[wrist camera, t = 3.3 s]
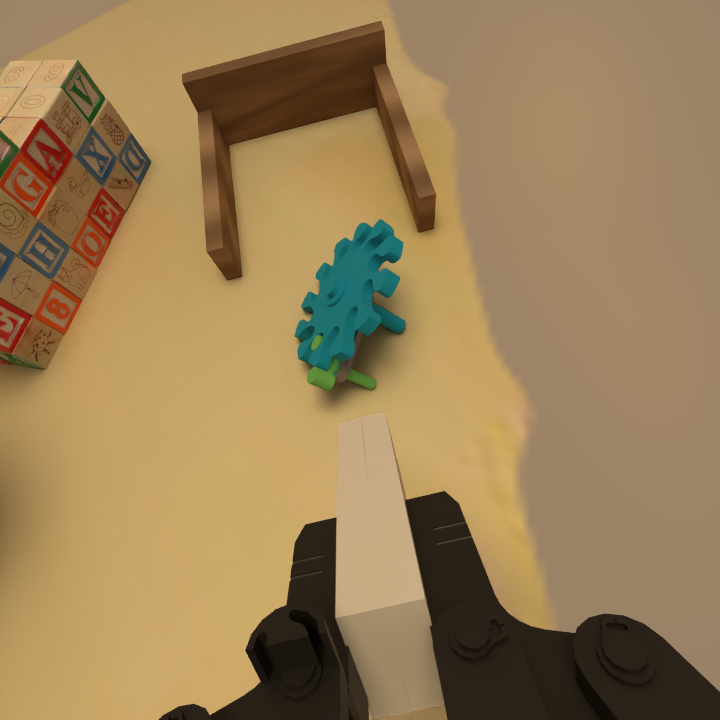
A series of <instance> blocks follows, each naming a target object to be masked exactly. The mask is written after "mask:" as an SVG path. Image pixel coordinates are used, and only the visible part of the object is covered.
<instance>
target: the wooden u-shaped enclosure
mask: <svg viewBox="0 0 720 720" xmlns="http://www.w3.org/2000/svg"><path fill="white" fill-rule="evenodd" d="M182 82H183V85H184V87H185V89H186V91H187V93H188V95H189V97H190V99H191V101H192V103H193V105H194V106H195V108H196V110H197V112H198V125H199V141H200V156H201V172H202V187H203V203H204V219H205V234H206V250H207V253H208V254H209V256H210V257H211V258H212V260H213V261H214V262H215V264H216V265H217V267H218V268H219V269H220V271H221V272H222V273H223V275H224V276H225V277H226V279H227V280H230V279H234V278H238V277H242V269H241V260H240V250H239V241H238V231H237V222H236V212H235V203H234V193H233V184H232V174H231V165H230V155H229V146H228V145H229V144H233V143H237V142H241V141H245V140H248V139H252V138H256V137H260V136H264V135H268V134H271V133H275V132H279V131H283V130H287V129H291V128H294V127H298V126H302V125H306V124H310V123H314V122H317V121H321V120H325V119H329V118H333V117H337V116H341V115H344V114H348V113H352V112H356V111H360V110H364V109H367V108H371V107H375V106H376V107H377V110H378V113H379V116H380V119H381V122H382V125H383V128H384V131H385V134H386V137H387V140H388V143H389V146H390V149H391V152H392V155H393V158H394V161H395V164H396V167H397V170H398V173H399V176H400V178H401V181H402V184H403V187H404V190H405V193H406V196H407V199H408V202H409V205H410V208H411V211H412V214H413V217H414V220H415V223H416V226H417V229H418V232H422V231H426V230H430V229H434V219H435V201H436V193H435V190H434V188H433V185H432V182H431V180H430V177H429V174H428V172H427V169H426V166H425V164H424V161H423V158H422V156H421V153H420V151H419V148H418V145H417V143H416V140H415V137H414V135H413V132H412V129H411V127H410V124H409V121H408V119H407V116H406V113H405V111H404V108H403V105H402V103H401V100H400V98H399V95H398V92H397V90H396V87H395V84H394V82H393V79H392V76H391V74H390V71H389V68H388V66H387V63H386V48H385V33H384V27H383V25H382V22H381V21H378V22H375V23H371V24H367V25H364V26H360V27H356V28H352V29H349V30H345V31H341V32H337V33H334V34H330V35H326V36H322V37H319V38H315V39H311V40H307V41H304V42H300V43H296V44H292V45H289V46H285V47H281V48H278V49H274V50H270V51H266V52H263V53H259V54H255V55H251V56H248V57H244V58H240V59H236V60H233V61H229V62H225V63H221V64H218V65H214V66H210V67H206V68H203V69H199V70H195V71H192V72H188V73H184V74H182Z"/></svg>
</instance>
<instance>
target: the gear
mask: <svg viewBox="0 0 720 720" xmlns="http://www.w3.org/2000/svg"><path fill="white" fill-rule="evenodd" d="M402 250H403V242H402V241H400V240H399V239H397V238H396V237H395V236H394V230H393V228H392V227H391V226H390V225H388V224H387V223H385V222H384V221H383V220H381V219H380V220H379V221H378V222H377V223H376V224H375V225H374V227H373V228H372V227H371V226H369V225H368V224H367V223H361V224H359V225H358V227H357V229H356V231H355V234H354V238H353V241H350V240H349V239H347V238H343V239H342V240H341V241H340V242H338V243H337V244H336V247H335V250H334V253H335V258H334V263H333V266H330V265H329V264H327V263H324V264H323V265H322V266H321V267H320V269H319V270H318V271H317V273H316V279H318V280H319V282H320V291H319V294H318V296H317V295H316V294H314V293H312V292H308V294H307V295H306V297H305V299H304V301H303V303H302V306H301V307H302V308H303V309H305V310H307V311H309V312H311V313H313V316H312V318H311V320H310V321H309V322H307V321H305V320H301V321H300V322H299V323H298V326H297V329H296V333H295V337H297V338H299V339H301V340H303V342H302V343H301V344H300V345H299V347H298V358H299V359H300V360H302V361H304V362H307V363H309V364H311V365H312V366H315V367H313V368H312V369H311V370H310V372H309V374H308V377H307V382H308V383H310V384H312V385H314V386H317V387H319V388H322V389H324V390H327V391H329V390H330V389H331V388H332V387H333V385H334V383H335V382H336V383H338V384H340V383H343V382H344V381H345V380H346V379H347V380H349V381H352V382H354V383H356V384H359V385H361V386H363V387H365V388H368V389H370V390H371V389H373V388H374V386H375V384H376V381H375V379H373V378H370V377H368V376H366V375H364V374H362V373H360V372H357V371H355V370H353V369H351V368H352V365H353V362H354V359H355V356H356V353H357V350H358V347H359V344H360V341H361V338H362V335H363V334H365V335H367V336H369V335H370V334H371V333H372V332H373V331H374V330H375V329H376V328H377V327H378V325H379V324H381V325H383V326H385V327H387V328H388V329H390V330H392V331H394V332H396V333H400V332H402V331H403V329H404V327H405V320H403V319H401V318H400V317H398V316H396V315H394V314H393V313H391V312H389V311H387V310H386V309H384V308H382V307H381V306H379V305H377V304H375V303H374V299H373V296H372V295H373V293H374V291H376V292H378V293H380V294H381V295H383V296H385V297H387V298H389V297H391V296H392V294H393V293H394V291H395V289H396V287H397V285H398V283H399V280H400V277H399V276H397V275H396V274H394V273H393V272H391V271H390V270H388V269H383V270H381V271H379V272H378V270H379V268H380V266H381V265H382V263H383V262H385V261H389V262H390V263H395V262H397V261H398V260H399V259H400V257H401V255H402Z"/></svg>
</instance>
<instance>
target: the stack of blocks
mask: <svg viewBox="0 0 720 720" xmlns="http://www.w3.org/2000/svg"><path fill="white" fill-rule="evenodd" d="M150 162H151V161H150V159H149V158H148V156H147V155H146V153H145V152H144V151H143V149H142V147H141V146H140V145H139V143H138V142H137V140H136V139H135V137H134V136H133V135H132V134H131V133H130V130H129V129H128V127H127V126H126V124H125V123H124V121H123V120H122V119H121V117H120V116H119V114H118V113H117V112H116V110H115V109H114V107H113V106H112V105H111V103H110V102H109V101H108V100H107V99H105V97H104V95H103V94H102V93H101V91H100V90H99V88H98V87H97V86H96V84H95V83H94V82H93V80H92V79H91V77H90V76H89V74H88V73H87V72H86V70H85V69H84V68H83V66H82V65H81V64H80V62H79V61H78V60H44V61H11V62H10V63H9V64H8V66H7V67H6V69H5V70H4V71H3V73H2V74H1V76H0V363H5V364H15V365H21V366H27V367H33V368H39V369H44V370H46V369H47V367H48V365H49V363H50V361H51V359H52V357H53V355H54V353H55V351H56V349H57V348H58V346H59V344H60V342H61V340H62V338H63V336H64V334H65V333H66V332H67V330H68V328H69V326H70V324H71V322H72V320H73V318H74V316H75V314H76V312H77V310H78V308H79V306H80V304H81V302H82V300H83V298H84V296H85V295H86V293H87V291H88V289H89V287H90V285H91V283H92V281H93V279H94V277H95V275H96V273H97V268H98V266H99V265H100V262H101V260H102V258H103V256H104V254H105V252H106V250H107V248H108V246H109V244H110V242H111V239H112V237H113V235H114V233H115V231H116V229H117V227H118V225H119V223H120V221H121V219H122V217H123V215H124V212H125V211H126V210H127V208H128V206H129V204H130V202H131V200H132V198H133V196H134V194H135V192H136V190H137V188H138V186H139V184H140V183H141V181H142V179H143V177H144V175H145V173H146V170H147V168H148V166H149V164H150Z"/></svg>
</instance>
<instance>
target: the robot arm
mask: <svg viewBox="0 0 720 720" xmlns="http://www.w3.org/2000/svg"><path fill="white" fill-rule="evenodd" d="M290 577H291V581H290V583H289V591H288V598H287V605H286V606H283V607H281V608H278V609H276V610H274V611H273V612H272V613H271V614H269V615H268V616H267V617H265V618H264V619H263V620H262V621H261V622H260V624H259V625H258V626H257V628H256V629H255V630H254V632H253V633H252V634H251V637H250V639H249V642H248V645H247V647H246V650H245V651H246V653H247V655H248V657H249V659H250V661H251V663H252V665H253V667H254V669H255V671H256V673H257V675H258V677H259V679H260V681H261V682H260V683H259V684H258V685H257V686H256V687H255V688H254V689H252V690H251V691H249V692H248V693H247V694H245V695H244V696H242V697H240V698H239V699H237V700H235V701H234V702H232V703H230V704H228V705H227V706H225V707H223V708H222V709H220V710H218V711H216V712H215V713H213V714H211V715H209V713H208V712H207V710H206V709H205V708H203V707H200V706H198V705H195V704H190V705H184V706H179V707H177V708H175V709H173V710H172V711H170V712H168V713H166V714H165V715H163V716H162V717H161V718H160V719H159V720H369V712H368V707H369V710H370V712H371V715H372V718H373V720H376V719H381V718H386V717H390V716H395V715H400V714H405V713H410V712H414V711H419V710H424V709H429V708H434V707H439V706H443V705H445V708H446V713H447V718H448V720H720V692H719V691H718V690H717V689H716V688H715V687H714V686H713V685H712V684H711V683H710V682H709V681H708V680H707V679H706V678H704V677H703V676H702V675H701V674H700V673H699V672H698V671H697V670H696V669H695V668H694V667H693V666H692V665H691V664H690V663H689V662H687V661H686V659H684V658H683V657H682V656H681V655H680V654H679V653H678V652H677V651H676V650H675V649H674V648H673V647H672V646H671V645H670V644H669V643H668V642H667V641H666V640H665V639H663V638H662V637H661V636H660V635H659V634H657V633H656V632H654V631H653V630H652V629H650V628H649V627H648V626H646V625H645V624H643V623H641V622H638V621H636V620H633V619H631V618H628V617H626V616H623V615H613V614H601V615H597V616H593V617H590V618H588V619H587V620H585V621H584V622H583V623H582V624H581V625H580V626H579V627H577V630H576V633H569V632H561V631H552V630H545V629H540V628H536V627H532V626H529V625H527V624H525V623H523V622H520V621H519V620H517V619H516V618H514V617H513V616H512V615H510V614H509V613H508V612H507V611H506V610H505V609H504V608H503V607H502V606H501V605H500V603H499V601H498V599H497V598H496V596H495V594H494V591H493V589H492V586H491V584H490V581H489V579H488V576H487V574H486V571H485V569H484V566H483V563H482V561H481V558H480V556H479V553H478V551H477V548H476V546H475V543H474V541H473V538H472V536H471V533H470V531H469V528H468V526H467V524H466V521H465V518H464V516H463V513H462V511H461V508H460V506H459V503H458V502H456V501H455V500H454V499H453V498H452V497H451V496H450V495H448V494H447V493H446V492H445V491H443V492H439V493H434V494H430V495H426V496H421V497H417V498H413V499H408V500H407V499H406V495H405V490H404V486H403V481H402V477H401V473H400V469H399V465H398V461H397V457H396V454H395V450H394V446H393V442H392V438H391V434H390V430H389V426H388V422H387V418H386V414H385V411H383V412H379V413H375V414H370V415H366V416H362V417H358V418H354V419H350V420H345V421H341V422H338V451H337V517H336V518H332V519H327V520H323V521H319V522H314V523H310V524H306V525H305V526H304V528H303V529H302V531H301V533H300V535H299V536H298V538H297V540H296V542H295V546H294V554H293V565H292V569H291V576H290Z"/></svg>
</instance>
